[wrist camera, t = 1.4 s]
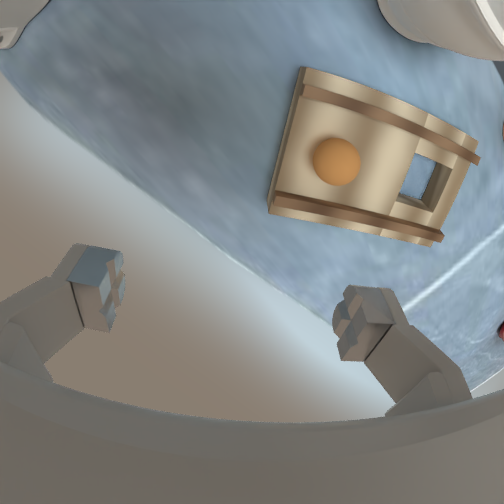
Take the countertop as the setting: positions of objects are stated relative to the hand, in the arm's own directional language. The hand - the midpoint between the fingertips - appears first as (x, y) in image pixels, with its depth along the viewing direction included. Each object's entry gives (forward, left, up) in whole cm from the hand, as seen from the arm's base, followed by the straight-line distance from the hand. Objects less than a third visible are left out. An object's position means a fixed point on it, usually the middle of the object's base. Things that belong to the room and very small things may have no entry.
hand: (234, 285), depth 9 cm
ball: (+8, 0, -16) cm, 18 cm away
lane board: (+14, 0, -21) cm, 25 cm away
